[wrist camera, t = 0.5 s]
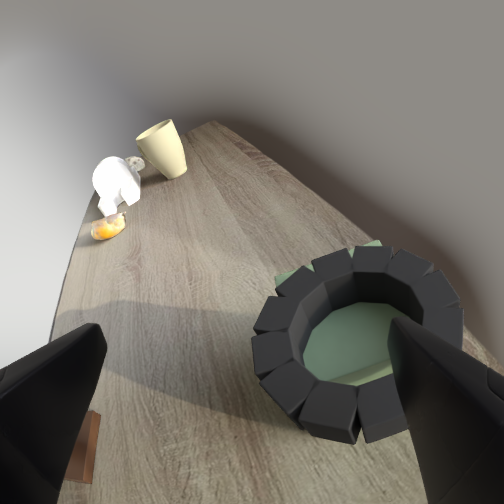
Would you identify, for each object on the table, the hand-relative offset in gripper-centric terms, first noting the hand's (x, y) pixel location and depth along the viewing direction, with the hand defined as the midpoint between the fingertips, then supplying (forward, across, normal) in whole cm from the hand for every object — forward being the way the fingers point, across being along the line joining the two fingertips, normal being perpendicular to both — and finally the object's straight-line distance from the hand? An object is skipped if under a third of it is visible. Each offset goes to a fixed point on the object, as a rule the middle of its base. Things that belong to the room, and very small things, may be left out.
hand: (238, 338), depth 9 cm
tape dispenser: (+65, +36, +8) cm, 75 cm away
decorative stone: (+83, +42, +4) cm, 94 cm away
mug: (+64, +22, +4) cm, 68 cm away
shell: (+47, +30, +12) cm, 57 cm away
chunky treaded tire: (+4, -5, +4) cm, 8 cm away
